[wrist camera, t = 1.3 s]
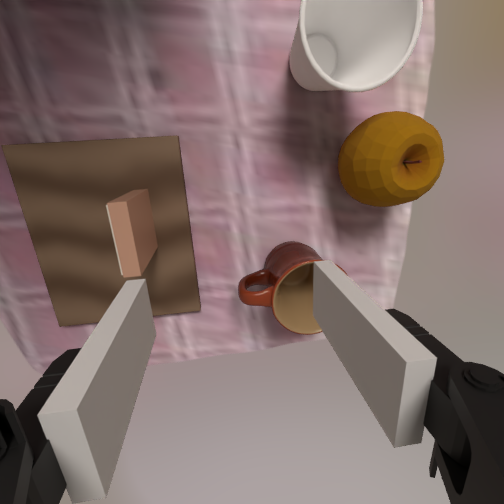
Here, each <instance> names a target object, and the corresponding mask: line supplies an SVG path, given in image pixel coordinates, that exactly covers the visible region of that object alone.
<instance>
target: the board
mask: <svg viewBox="0 0 504 504" xmlns="http://www.w3.org/2000/svg"><path fill="white" fill-rule="evenodd" d="M1 146H2V149H3V152H4V155H5V158H6V161H7V164H8V167H9V171H10V174H11V177H12V180H13V183H14V186H15V189H16V192H17V195H18V199H19V202H20V205H21V208H22V211H23V214H24V217H25V220H26V223H27V227H28V230H29V233H30V236H31V239H32V242H33V245H34V248H35V251H36V255H37V258H38V261H39V264H40V267H41V270H42V273H43V276H44V279H45V283H46V286H47V289H48V292H49V295H50V298H51V301H52V304H53V307H54V311H55V314H56V317H57V320H58V323H59V326H60V327H61V326H70V325H78V324H87V323H96V322H100V320H101V319H102V317H103V315H104V314H105V312H106V311H107V309H108V308H109V306H110V305H111V303H112V302H113V300H114V299H115V297H116V296H117V294H118V293H119V291H120V290H121V288H122V287H123V285H124V284H125V282H126V281H128V280H138V279H146V284H147V289H148V294H149V299H150V304H151V309H152V315H153V316H157V315H165V314H174V313H183V312H191V311H200V310H201V304H200V296H199V288H198V281H197V273H196V265H195V258H194V250H193V242H192V235H191V227H190V220H189V212H188V204H187V197H186V189H185V181H184V174H183V166H182V158H181V151H180V143H179V136H161V137H143V138H124V139H106V140H88V141H69V142H51V143H32V144H14V145H1ZM140 189H148V192H149V198H150V204H151V209H152V215H153V221H154V227H155V233H156V238H157V244H158V247H157V249H156V251H155V253H154V254H153V256H152V258H151V260H150V261H149V263H148V265H147V267H146V268H145V270H144V272H143V274H142V275H141V276H135V277H125V278H124V277H123V275H121V270H120V266H119V262H118V257H117V253H116V248H115V244H114V239H113V235H112V230H111V226H110V221H109V217H108V212H107V208H106V205H107V203H108V202H110V201H112V200H114V199H116V198H118V197H120V196H122V195H124V194H126V193H128V192H130V191H133V190H140Z"/></svg>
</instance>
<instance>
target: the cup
mask: <svg viewBox="0 0 504 504" xmlns="http://www.w3.org/2000/svg"><path fill="white" fill-rule="evenodd" d="M422 15H423V0H301V5H300V10H299V21H298V25H297V28H296V32H295V36H294V40H293V43H292V47H291V51H290V56H289V64H290V70H291V73H292V75H293V77H294V79H295V80H296V82H297V83H298V84H299V85H300V86H301V87H303V88H305V89H307V90H310V91H331V90H343V91H347V92H364V91H368V90H373V89H375V88H377V87H379V86H381V85H383V84H385V83H386V82H387V81H389V80H390V79H391V78H393V77H394V76H395V75H396V74H397V73H398V72H399V71H400V70H401V68H402V67H403V66H404V64H405V63H406V61H407V60H408V59H409V57H410V55H411V53H412V51H413V49H414V47H415V45H416V43H417V39H418V36H419V32H420V29H421V23H422Z"/></svg>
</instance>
